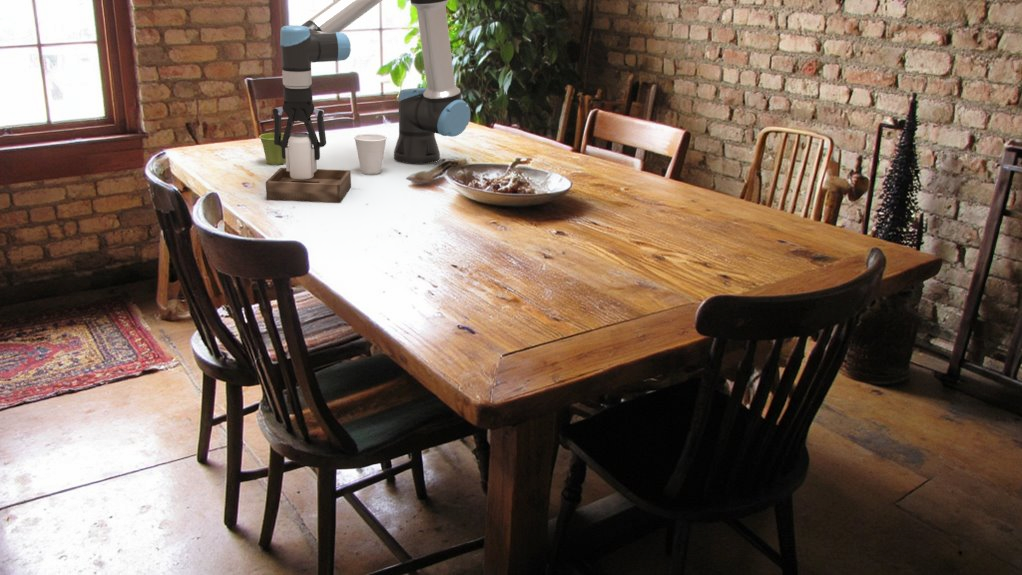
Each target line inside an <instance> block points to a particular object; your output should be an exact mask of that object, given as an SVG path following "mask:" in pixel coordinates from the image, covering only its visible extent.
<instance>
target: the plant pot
mask: <svg viewBox="0 0 1022 575" xmlns="http://www.w3.org/2000/svg"><path fill="white" fill-rule="evenodd" d="M258 136H259V139H260V140H261V141H260V142H261V143H262V148H263V152H264V157H265V162H266V164H268V165H269V166H271V165H272V166H279V165H286V159H283V158H282V148H281V146H279V145H275V144H274V132H268V133H262V134H260V135H258ZM283 136H284V132H281V140H282V139H283ZM287 146H288V145H287Z"/></svg>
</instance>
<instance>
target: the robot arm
mask: <svg viewBox="0 0 1022 575" xmlns="http://www.w3.org/2000/svg"><path fill="white" fill-rule="evenodd" d="M382 1H383V0H335V1H332V2H331V3H330V4H329V5H327V6H326V7H325V8H324V9H322V10H320V11H319V12H318V13H316V14H315V15H314V16H312V17H311V18H309V19H308V20H307V21H305V22H304V23H302V24H301V25H284V26H282V27H281V28H280V32H279V33H280V36H279V37H280V39H279V40H280V42H279V46H280V54H281V56H280V57H281V71H282V73H281V74H282V75H281V76H282V85H283V86H284V87H283V88H282V90H283V91H282V92H283V93H282V94H283V95H282V96H283V104H282V106H279V107H278V106H277V107H274V108H273V109H272V113H273V116H274V132H273V133H274V144H275V145H279V146H281V148H282V158H283V159H286V163H285V168H286V171H290V167H289V149H288V146H287V145H288V139H289V137H290V135H289V134H291V133H292V130H293V126H294V124H295V122H296V123H297V122H300V123H303V124H304V126H305V128H306V130H307V133H309V136H310V139H311V141H312V145H313V148H312V149H311V159H312V172H314V173H315V172H316V171H317V169H318V165H317V164H318V163H317V161H319V160H320V158H321V153H320V152H321V148H323V147H325V146H326V144H327V136H326V130H325V122H324V121H325V120H324V116H325V109H323V108H321V109H319V108H316V107H315V105H314V102H313V88H312V87H311V86H312V84H313V82H312V81H313V80H312V63H323V62H324V63H325V62H328V63H329V62H336V63H338V62H340V61H345V60H347V59H348V58H349V57H350V55H351V50H352V49H351V41H350V39H349V37H348V35H347V34H346V33H344V32H342V31H343V30H344V29H346V28H347V27H349V26H350V25H351V24H353V22H355V21H357V20H358V19H359V18H361V17H362V16H363V15H364V14H366V13H367V12H368V11H369V10H371V9H372V8H375V6H377V5H378V4H379V3H380V2H382ZM449 2H450V0H410V4H411V5H412V6H413V7H414V8H415V9H416V12H417V14H416V15H417V20H418V27H419V28H418V29H419V35H420V43H421V51H422V57H423V58H422V59H423V60H422V61H423V65H424V72H425V73H424V74H425V81H426V87H419V88H418V87H416V88H415V87H414V88H405V89H402V90H400V91H399V93H398V102H397V103H398V138H397V141H396V145H395V148H394V150H393V160H395V161H396V162H399V163H404V164H411V165H412V164H413V165H426V164H432V163H433V164H434V163H437V162H439V161H440V160H441V157H440V156H441V152H440V148H439V146H438V142H437V140H436V136H435V134H437V135H441V136H442V137H457V136H459V135H461V134H462V133H463V132H464V131H466V128H467V126H468V125H469V124H470V120H471V109H470V106H469V103H467V102H466V101H464V100H463V99H462V93H461V89H460V88H459V87H458V86H456V84H455V76H454V75H455V74H454V67H453V66H454V65H453V58H452V51H451V50H452V49H451V40H450V33H449V25H448V24H449V23H448V16H447V15H448V14H447V8H446V7H447V6H446V5H447V4H448V3H449ZM283 112H284V113H285V115H286V116H287V117H288V118H287V121H286V124H285V125H286V126H285V128H284V132H283V133H284V136H283V139H282V140H281V133H282V116H283ZM313 114H314V116H315V117H316V123H317V130H318V136H317V132H316V131H315V127H314V125H313V123H312V119H311V116H312V115H313ZM318 138H319V139H318ZM439 159H440V160H439ZM438 160H439V161H438ZM436 161H437V162H436Z"/></svg>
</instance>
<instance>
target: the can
mask: <svg viewBox="0 0 1022 575" xmlns="http://www.w3.org/2000/svg"><path fill="white" fill-rule="evenodd" d="M289 135H290V137H289V139H288V149H289V167H290V177H291V178H292V179H295V180H308V179H312V178H313V176H314V172H312V159H311V149H312V148H313V144H312V141H311V139H310V136H309V133H308V132H293V133H292V132H291V134H289Z"/></svg>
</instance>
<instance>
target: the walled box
mask: <svg viewBox="0 0 1022 575" xmlns="http://www.w3.org/2000/svg"><path fill="white" fill-rule="evenodd" d="M351 173H352V172H351V170H349V169H348V170H347V169H345V170H344V169H328V168H327V169H326V168H325V169H324V168H323V169H322V168H317V171H316V172H315V173H314V176H313V178H312V179H308V180H295V179H292V178H291V177H290V171H286V167H279V169H277V171H276V172H274V173H273V174H272V175H271V176H269V178H268V179H267V180H266V181H265V193H266V196H265V197H266V200H267V201H285V202H288V201H289V202H312V203H337V204H341V203H342V201H343V200H344V198H345V197H346V196H347V194H348V193H349V192H350V189H351V188H352V180H351V179H352V177H351V176H352V174H351Z"/></svg>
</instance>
